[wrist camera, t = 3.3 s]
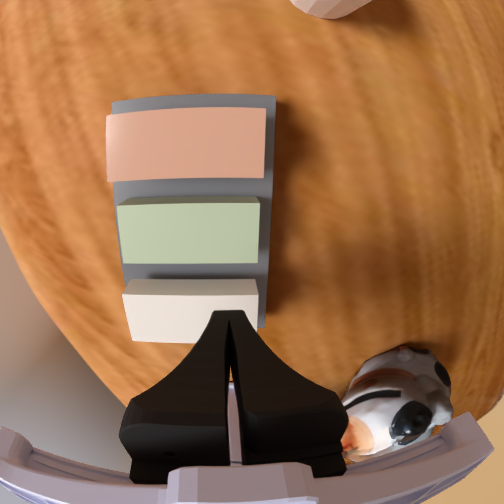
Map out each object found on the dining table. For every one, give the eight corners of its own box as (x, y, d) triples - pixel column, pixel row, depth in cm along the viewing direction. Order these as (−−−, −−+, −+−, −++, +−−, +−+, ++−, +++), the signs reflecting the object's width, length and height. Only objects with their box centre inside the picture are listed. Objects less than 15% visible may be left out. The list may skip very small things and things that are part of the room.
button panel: (261, 313, 23) (264, 327, 21) (139, 312, 22) (133, 326, 20) (270, 100, 17) (276, 95, 15) (122, 105, 16) (112, 102, 14)
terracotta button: (259, 173, 16) (263, 178, 14) (120, 177, 15) (107, 182, 13) (261, 112, 14) (266, 108, 12) (119, 117, 14) (106, 115, 12)
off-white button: (253, 323, 19) (256, 342, 17) (139, 323, 19) (132, 340, 17) (255, 278, 18) (258, 295, 16) (131, 278, 17) (121, 294, 15)
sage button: (254, 250, 18) (257, 263, 17) (132, 251, 18) (123, 263, 16) (255, 196, 17) (260, 203, 15) (127, 198, 16) (116, 205, 15)
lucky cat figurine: (343, 430, 32) (324, 509, 19) (314, 362, 32) (282, 441, 19) (449, 397, 26) (470, 474, 13) (434, 319, 26) (472, 388, 13)
